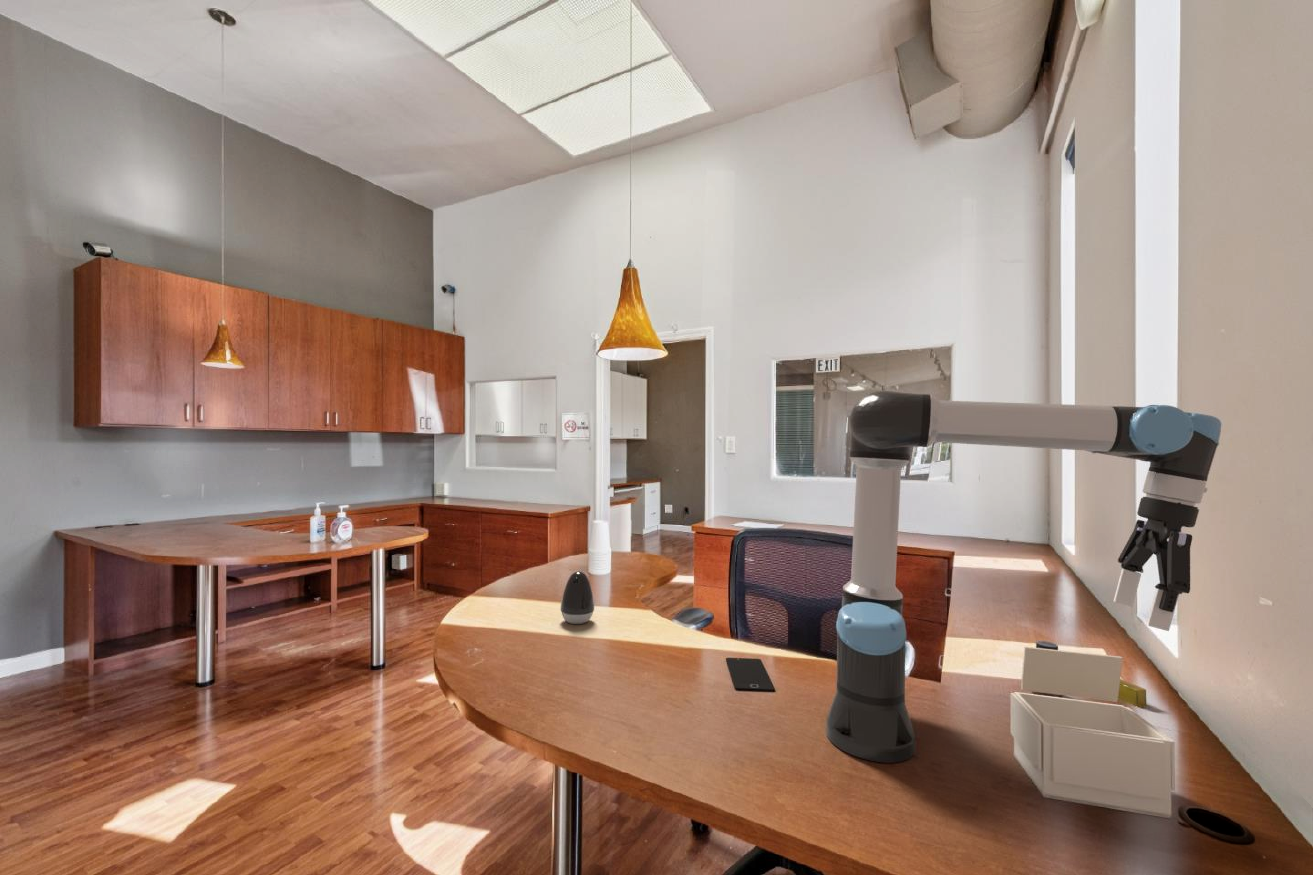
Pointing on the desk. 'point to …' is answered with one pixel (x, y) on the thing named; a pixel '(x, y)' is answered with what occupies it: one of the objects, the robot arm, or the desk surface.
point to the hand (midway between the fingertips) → (1138, 615)
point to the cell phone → (749, 675)
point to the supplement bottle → (1047, 646)
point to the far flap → (1071, 673)
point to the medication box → (1132, 694)
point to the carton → (1093, 753)
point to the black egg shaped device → (577, 599)
